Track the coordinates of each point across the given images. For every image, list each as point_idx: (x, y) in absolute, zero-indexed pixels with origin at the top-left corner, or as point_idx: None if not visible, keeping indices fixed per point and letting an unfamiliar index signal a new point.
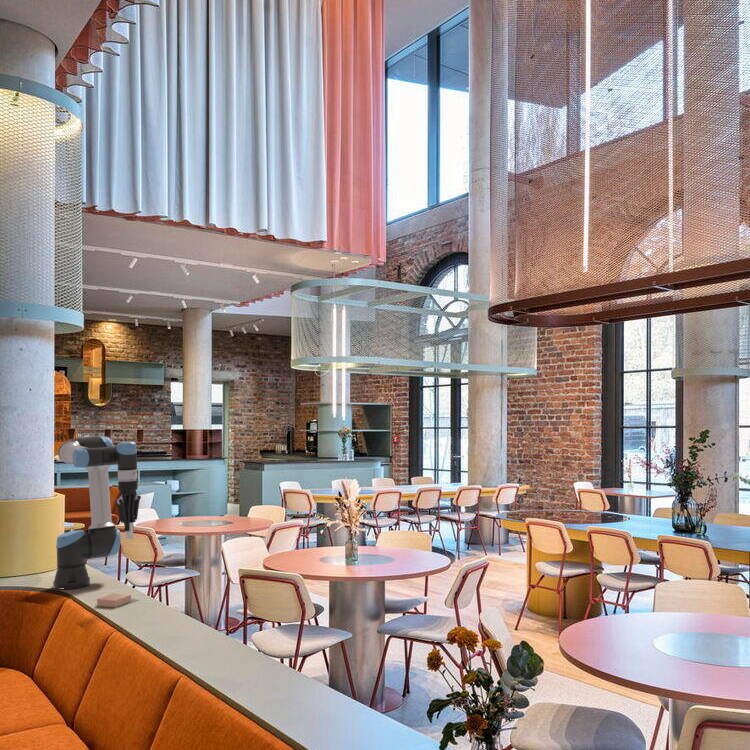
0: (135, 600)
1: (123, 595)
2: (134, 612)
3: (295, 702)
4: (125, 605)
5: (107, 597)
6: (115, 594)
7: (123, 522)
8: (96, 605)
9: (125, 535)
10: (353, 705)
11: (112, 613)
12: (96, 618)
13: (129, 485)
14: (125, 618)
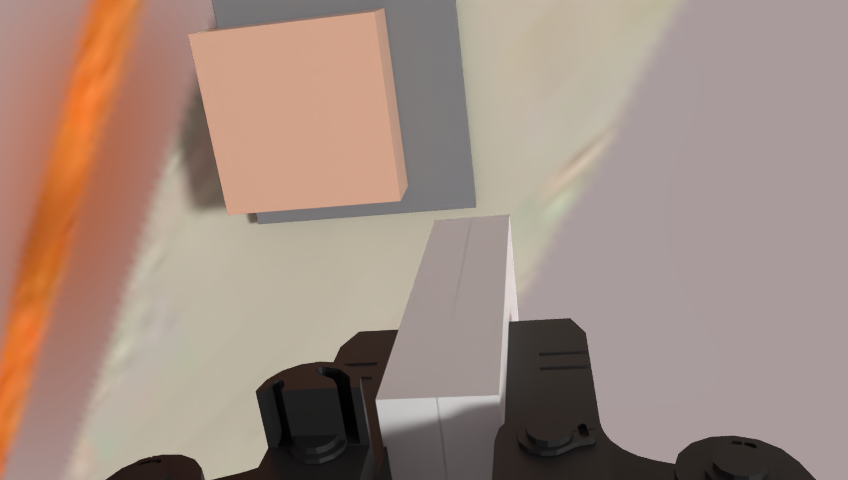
0: (448, 189)
1: (361, 157)
2: (267, 350)
3: None
4: (318, 219)
5: (261, 78)
6: (357, 65)
7: (237, 475)
8: (218, 8)
9: (425, 249)
10: None
11: (185, 238)
12: (65, 227)
13: None
14: (157, 387)
